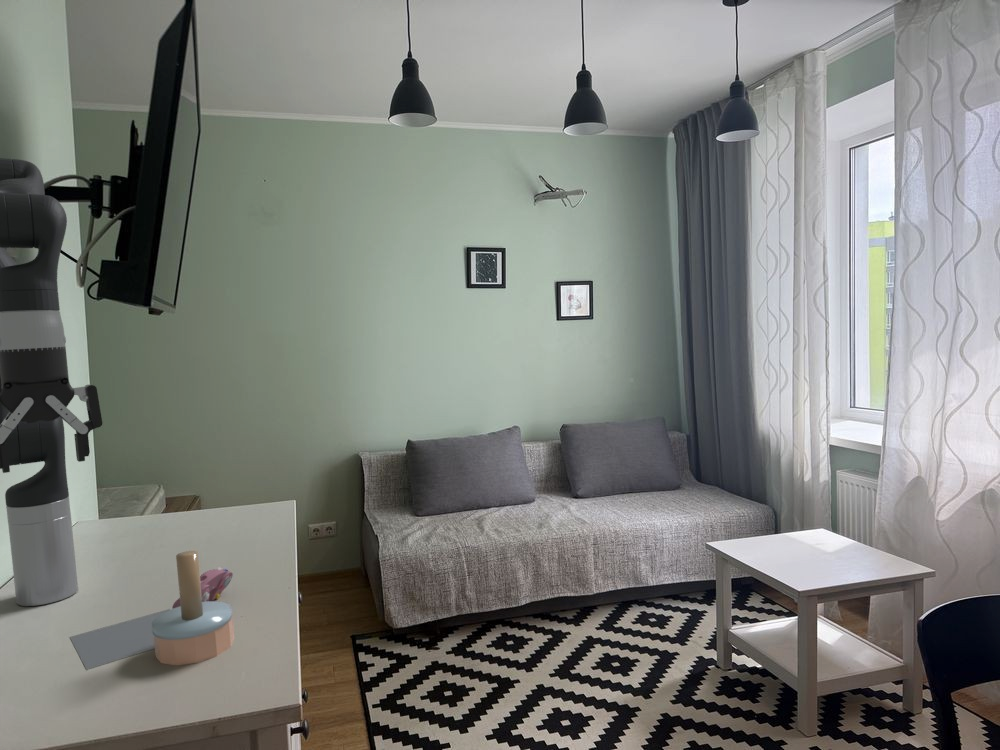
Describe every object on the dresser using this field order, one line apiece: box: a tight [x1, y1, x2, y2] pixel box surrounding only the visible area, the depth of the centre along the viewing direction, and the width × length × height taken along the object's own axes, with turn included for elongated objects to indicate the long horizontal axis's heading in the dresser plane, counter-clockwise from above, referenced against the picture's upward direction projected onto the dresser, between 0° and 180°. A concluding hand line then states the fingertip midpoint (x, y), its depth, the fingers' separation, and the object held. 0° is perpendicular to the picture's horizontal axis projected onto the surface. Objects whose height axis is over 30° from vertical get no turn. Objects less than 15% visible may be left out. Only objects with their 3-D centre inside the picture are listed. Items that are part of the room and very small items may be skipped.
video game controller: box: [171, 566, 234, 609], centre depth 116 cm, size 10×5×7 cm, turn 168°
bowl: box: [154, 613, 236, 666], centre depth 99 cm, size 10×10×4 cm
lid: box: [152, 550, 233, 640], centre depth 99 cm, size 10×10×10 cm
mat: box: [69, 608, 171, 671], centre depth 104 cm, size 14×14×1 cm
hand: (44, 466), depth 94 cm, fingers open, 8 cm apart
